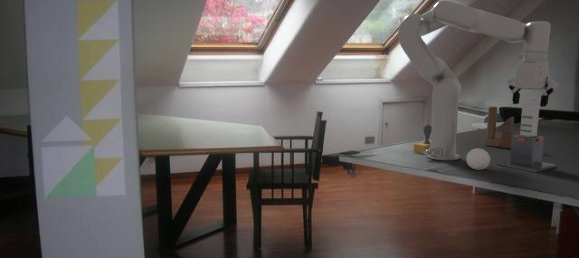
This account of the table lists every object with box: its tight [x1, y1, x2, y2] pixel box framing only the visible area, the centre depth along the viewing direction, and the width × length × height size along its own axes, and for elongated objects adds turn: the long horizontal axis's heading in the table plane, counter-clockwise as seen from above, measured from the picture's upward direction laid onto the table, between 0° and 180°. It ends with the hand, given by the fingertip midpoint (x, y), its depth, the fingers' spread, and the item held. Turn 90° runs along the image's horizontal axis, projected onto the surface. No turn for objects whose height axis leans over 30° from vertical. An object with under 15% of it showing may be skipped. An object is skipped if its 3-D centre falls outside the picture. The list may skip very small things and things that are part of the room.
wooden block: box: [483, 105, 515, 149], centre depth 189 cm, size 4×11×18 cm, turn 43°
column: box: [519, 96, 541, 138], centre depth 152 cm, size 5×4×18 cm
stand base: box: [496, 134, 556, 173], centre depth 154 cm, size 14×14×11 cm
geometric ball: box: [465, 147, 491, 171], centre depth 149 cm, size 8×8×8 cm
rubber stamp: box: [413, 124, 432, 155], centre depth 179 cm, size 10×6×12 cm, turn 123°
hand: (529, 105), depth 151 cm, fingers open, 9 cm apart
